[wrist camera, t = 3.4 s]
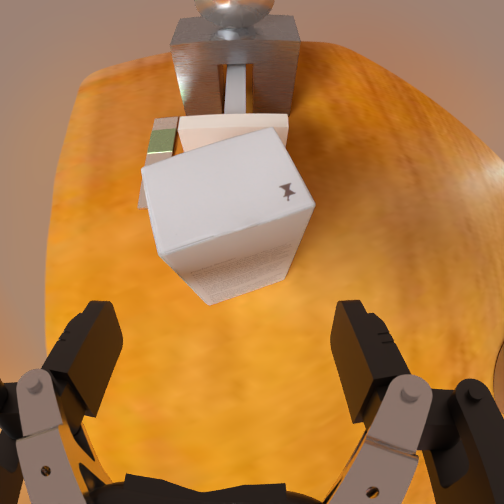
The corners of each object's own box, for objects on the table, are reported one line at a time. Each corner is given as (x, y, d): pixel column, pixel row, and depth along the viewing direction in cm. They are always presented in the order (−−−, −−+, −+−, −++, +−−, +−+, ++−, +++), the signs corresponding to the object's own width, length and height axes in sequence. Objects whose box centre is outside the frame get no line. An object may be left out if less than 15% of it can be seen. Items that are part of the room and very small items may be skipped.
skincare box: (264, 229, 23) (277, 122, 12) (285, 280, 22) (322, 206, 11) (189, 254, 23) (137, 164, 11) (206, 307, 21) (158, 260, 10)
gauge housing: (285, 84, 29) (299, -39, 14) (299, 206, 24) (347, 47, 10) (163, 89, 28) (133, -28, 14) (138, 209, 24) (49, 74, 9)
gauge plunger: (272, 89, 27) (276, 39, 21) (279, 180, 24) (288, 127, 18) (163, 94, 27) (149, 47, 21) (143, 184, 24) (116, 136, 17)
